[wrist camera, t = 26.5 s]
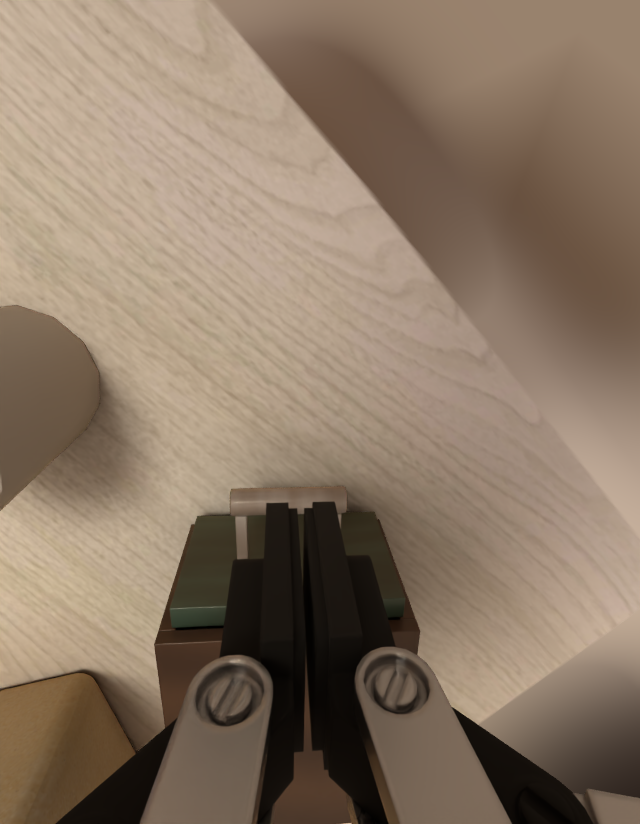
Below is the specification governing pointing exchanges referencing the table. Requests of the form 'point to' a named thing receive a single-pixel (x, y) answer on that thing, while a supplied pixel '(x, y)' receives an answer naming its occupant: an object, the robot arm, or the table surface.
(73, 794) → the flower pot
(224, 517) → the drawer
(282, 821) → the cabinet
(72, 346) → the cup
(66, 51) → the table surface
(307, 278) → the table surface
